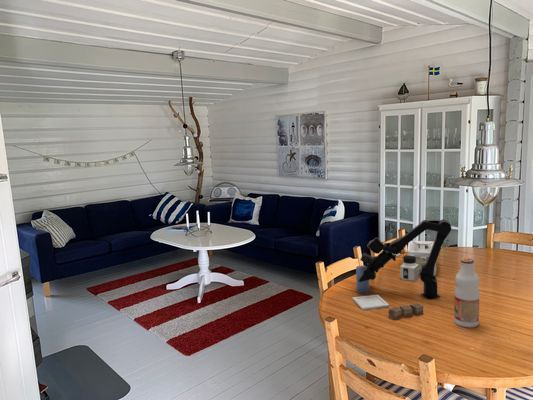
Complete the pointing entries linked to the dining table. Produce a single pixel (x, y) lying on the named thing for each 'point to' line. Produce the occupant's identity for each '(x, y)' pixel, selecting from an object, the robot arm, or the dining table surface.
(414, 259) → the container
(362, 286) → the blue cylinder
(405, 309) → the walnut block
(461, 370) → the dining table surface
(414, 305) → the walnut block
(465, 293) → the fruit juice
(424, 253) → the storage basket
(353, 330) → the dining table surface
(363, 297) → the tray
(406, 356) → the dining table surface
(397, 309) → the walnut block
